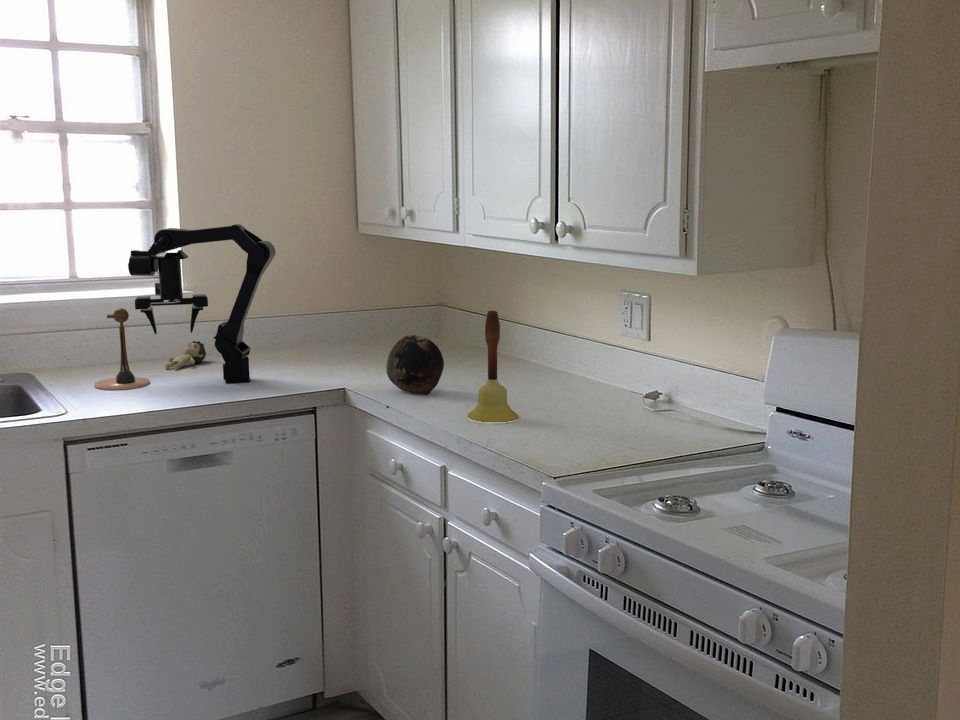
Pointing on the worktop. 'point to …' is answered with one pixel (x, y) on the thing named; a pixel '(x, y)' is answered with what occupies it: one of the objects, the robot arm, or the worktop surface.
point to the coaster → (112, 385)
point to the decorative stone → (415, 364)
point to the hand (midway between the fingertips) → (173, 333)
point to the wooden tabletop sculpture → (122, 348)
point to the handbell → (492, 381)
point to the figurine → (188, 356)
